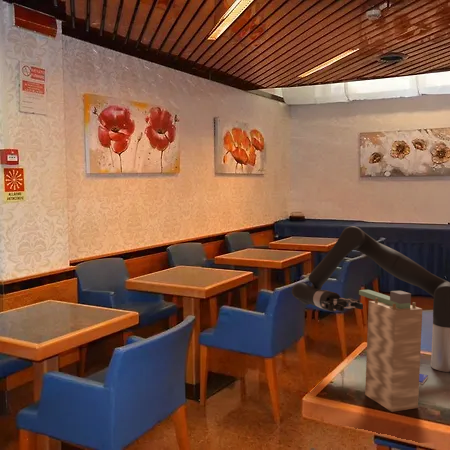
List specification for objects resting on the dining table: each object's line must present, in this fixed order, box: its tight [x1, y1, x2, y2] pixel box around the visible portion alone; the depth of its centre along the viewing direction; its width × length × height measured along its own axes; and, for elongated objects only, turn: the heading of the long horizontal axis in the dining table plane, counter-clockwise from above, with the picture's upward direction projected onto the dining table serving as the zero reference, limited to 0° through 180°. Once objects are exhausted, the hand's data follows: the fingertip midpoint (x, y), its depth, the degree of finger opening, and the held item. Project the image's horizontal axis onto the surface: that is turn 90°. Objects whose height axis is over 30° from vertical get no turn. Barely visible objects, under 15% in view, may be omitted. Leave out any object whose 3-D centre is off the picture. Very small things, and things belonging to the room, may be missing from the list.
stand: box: [364, 298, 423, 413], centre depth 169 cm, size 14×10×34 cm
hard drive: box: [419, 373, 429, 385], centre depth 192 cm, size 2×8×12 cm
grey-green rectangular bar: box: [358, 289, 412, 309], centre depth 173 cm, size 22×4×5 cm, turn 20°
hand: (352, 307), depth 191 cm, fingers open, 8 cm apart
